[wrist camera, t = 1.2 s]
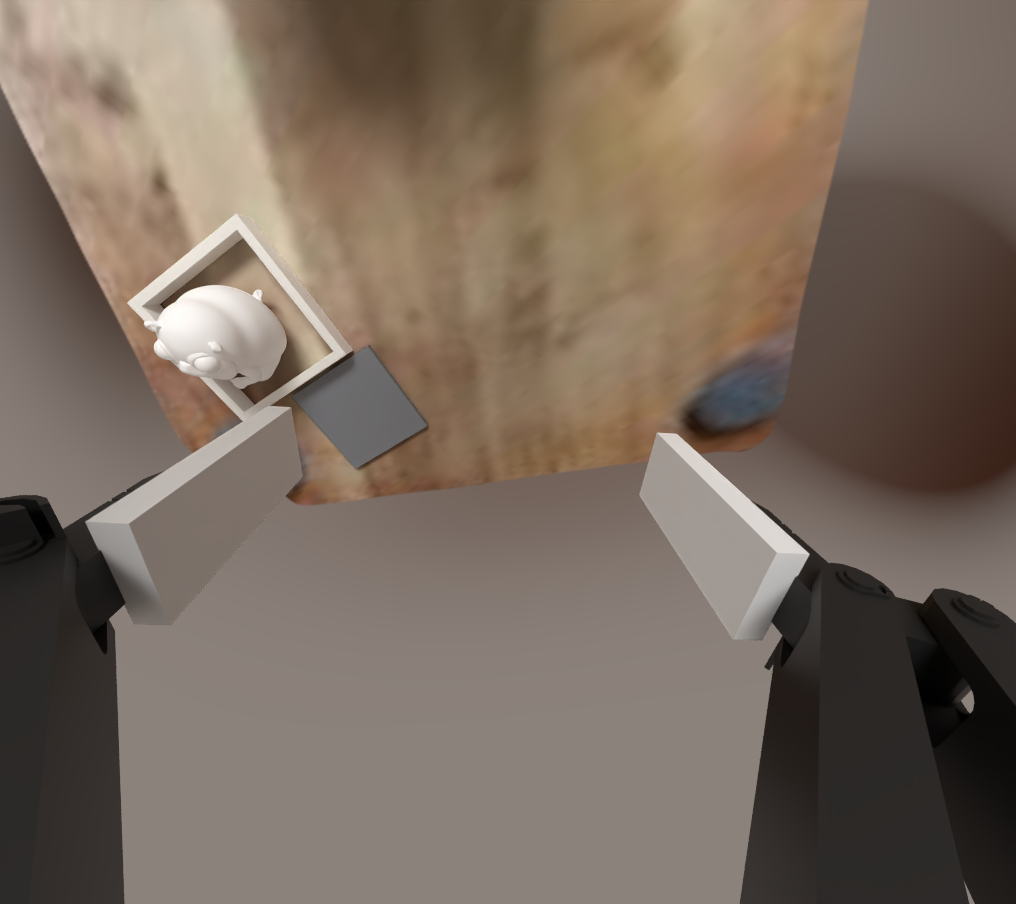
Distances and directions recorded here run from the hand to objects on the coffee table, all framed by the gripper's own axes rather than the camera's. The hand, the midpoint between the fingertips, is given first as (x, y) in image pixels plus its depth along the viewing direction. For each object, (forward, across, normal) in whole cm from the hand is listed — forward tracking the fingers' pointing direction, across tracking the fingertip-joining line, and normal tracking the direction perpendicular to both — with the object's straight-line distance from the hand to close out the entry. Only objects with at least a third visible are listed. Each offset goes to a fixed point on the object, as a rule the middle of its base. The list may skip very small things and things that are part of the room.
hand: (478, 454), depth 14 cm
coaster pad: (+35, -15, -12) cm, 40 cm away
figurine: (+35, -27, -3) cm, 44 cm away
